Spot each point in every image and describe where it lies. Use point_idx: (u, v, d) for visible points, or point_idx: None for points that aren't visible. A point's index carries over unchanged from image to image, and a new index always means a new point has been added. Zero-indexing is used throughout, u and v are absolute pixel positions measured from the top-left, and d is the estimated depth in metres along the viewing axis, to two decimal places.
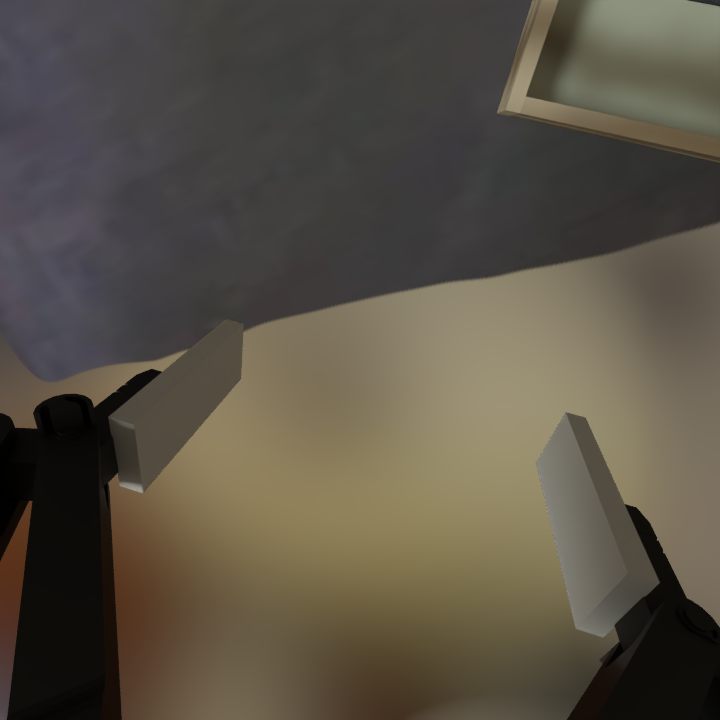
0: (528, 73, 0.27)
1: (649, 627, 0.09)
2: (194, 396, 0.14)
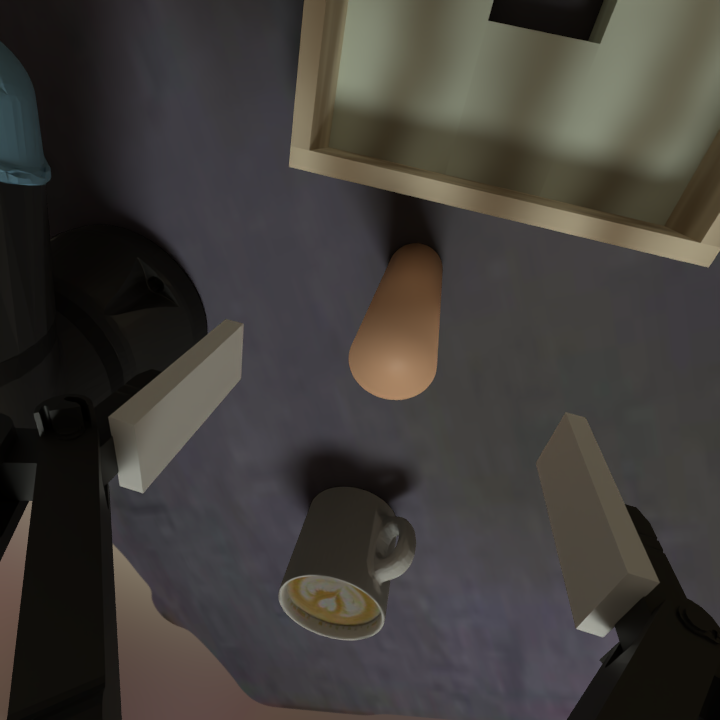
0: (670, 243, 0.20)
1: (649, 627, 0.09)
2: (194, 396, 0.14)
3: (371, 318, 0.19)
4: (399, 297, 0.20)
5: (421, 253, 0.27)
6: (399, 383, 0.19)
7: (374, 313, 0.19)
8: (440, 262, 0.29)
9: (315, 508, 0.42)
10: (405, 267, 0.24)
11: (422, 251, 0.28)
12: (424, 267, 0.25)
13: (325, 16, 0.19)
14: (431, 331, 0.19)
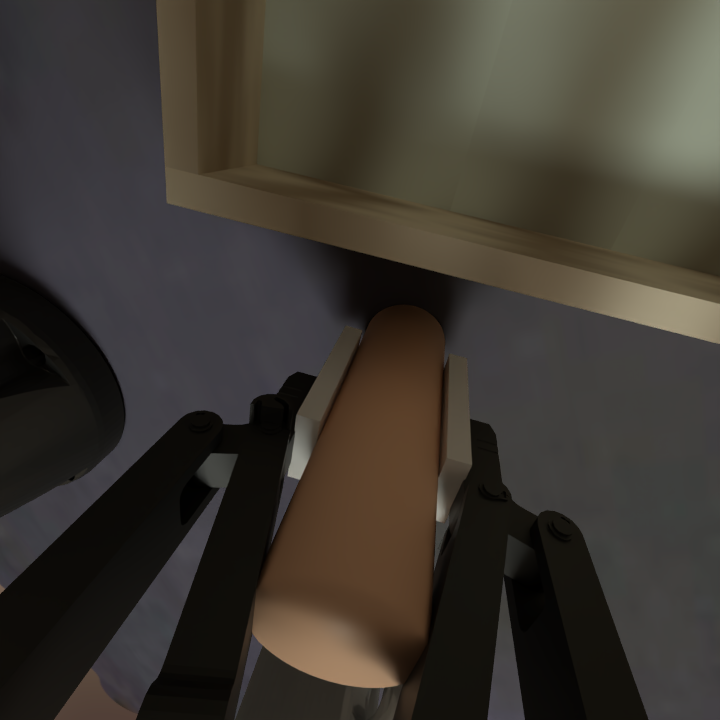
0: None
1: (463, 510, 0.11)
2: None
3: (293, 533, 0.09)
4: (358, 464, 0.10)
5: (411, 328, 0.17)
6: (352, 666, 0.09)
7: (302, 513, 0.09)
8: (441, 334, 0.19)
9: None
10: (381, 366, 0.15)
11: (413, 323, 0.18)
12: (415, 362, 0.15)
13: None
14: (419, 564, 0.09)
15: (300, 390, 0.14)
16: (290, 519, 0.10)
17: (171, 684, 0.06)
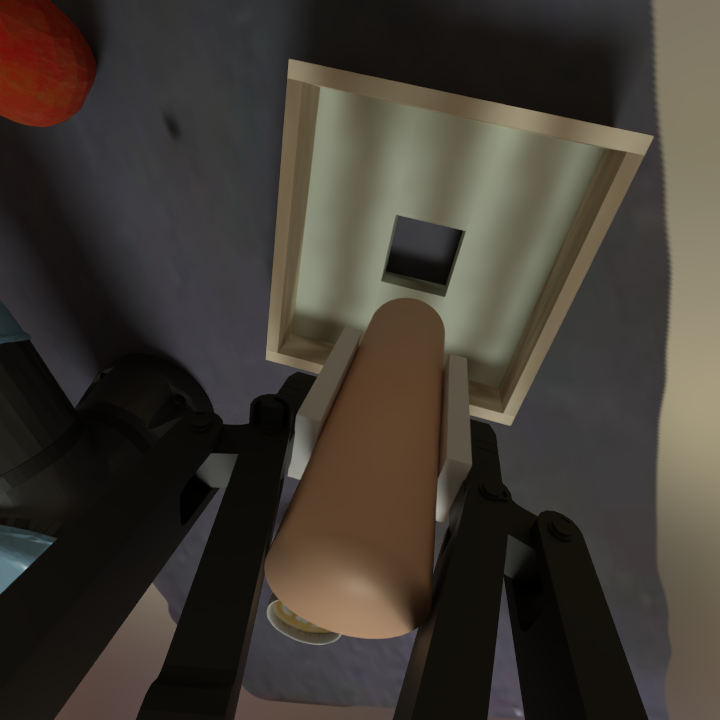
0: (487, 412, 0.35)
1: (462, 511, 0.11)
2: None
3: (308, 496, 0.10)
4: (366, 438, 0.11)
5: (413, 319, 0.18)
6: (361, 617, 0.10)
7: (316, 480, 0.10)
8: (442, 326, 0.20)
9: None
10: (385, 353, 0.15)
11: (415, 314, 0.19)
12: (417, 349, 0.16)
13: (283, 294, 0.33)
14: (421, 524, 0.10)
15: (300, 390, 0.14)
16: (304, 486, 0.10)
17: (171, 684, 0.06)
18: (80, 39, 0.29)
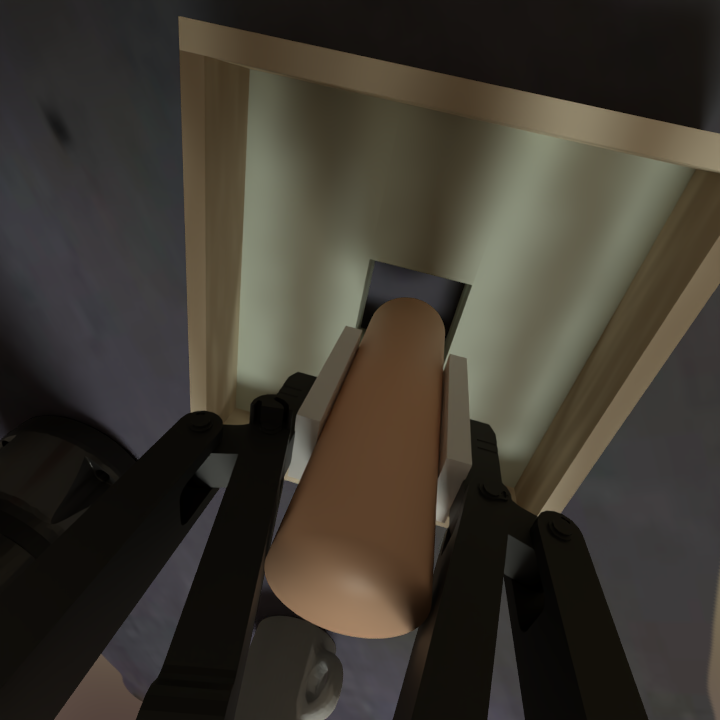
0: None
1: (463, 511, 0.11)
2: None
3: (308, 496, 0.10)
4: (366, 438, 0.11)
5: (413, 319, 0.18)
6: (361, 617, 0.10)
7: (316, 480, 0.10)
8: (442, 326, 0.20)
9: (258, 638, 0.47)
10: (385, 353, 0.15)
11: (415, 314, 0.19)
12: (417, 349, 0.16)
13: (207, 371, 0.23)
14: (421, 524, 0.10)
15: (300, 390, 0.14)
16: (304, 486, 0.10)
17: (171, 684, 0.06)
18: None
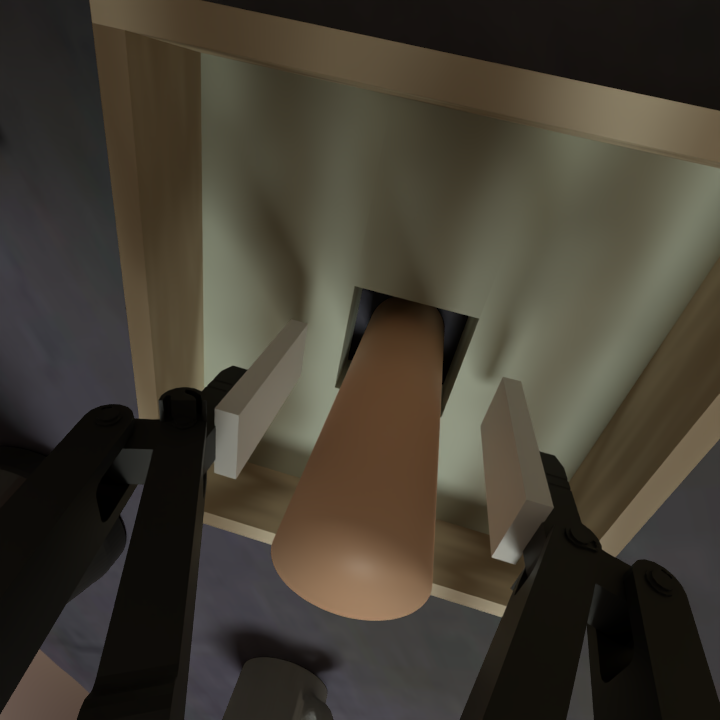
0: None
1: (545, 552, 0.10)
2: (273, 391, 0.15)
3: (313, 482, 0.10)
4: (369, 427, 0.12)
5: (413, 315, 0.19)
6: (364, 599, 0.10)
7: (320, 467, 0.11)
8: (441, 322, 0.21)
9: (242, 682, 0.43)
10: (386, 347, 0.16)
11: (415, 310, 0.19)
12: (417, 344, 0.16)
13: None
14: (423, 509, 0.10)
15: (231, 384, 0.14)
16: (309, 473, 0.11)
17: (108, 693, 0.06)
18: None
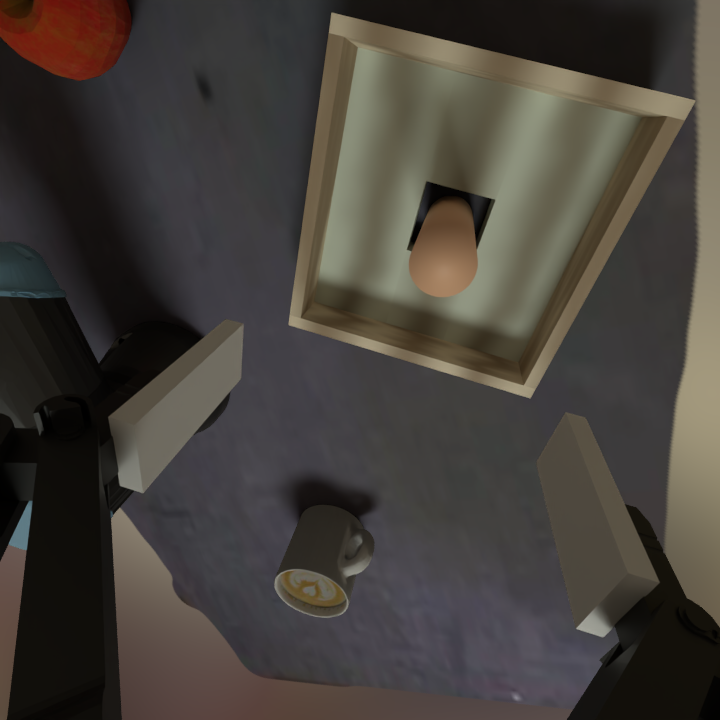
0: (507, 384, 0.35)
1: (649, 627, 0.09)
2: (194, 396, 0.14)
3: (427, 231, 0.24)
4: (447, 220, 0.26)
5: (457, 200, 0.33)
6: (447, 282, 0.25)
7: (429, 228, 0.25)
8: (471, 211, 0.35)
9: (303, 520, 0.57)
10: (446, 206, 0.30)
11: (458, 199, 0.33)
12: (462, 208, 0.31)
13: (310, 257, 0.33)
14: (473, 242, 0.24)
15: None
16: (423, 232, 0.25)
17: None
18: None
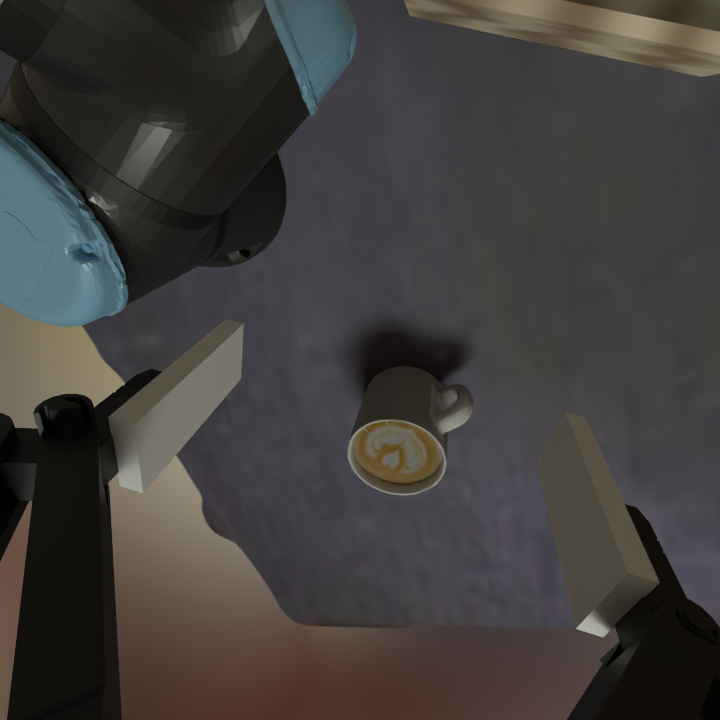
0: None
1: (649, 627, 0.09)
2: (194, 396, 0.14)
3: None
4: None
5: None
6: None
7: None
8: None
9: (374, 383, 0.46)
10: None
11: None
12: None
13: None
14: None
15: None
16: None
17: None
18: None
